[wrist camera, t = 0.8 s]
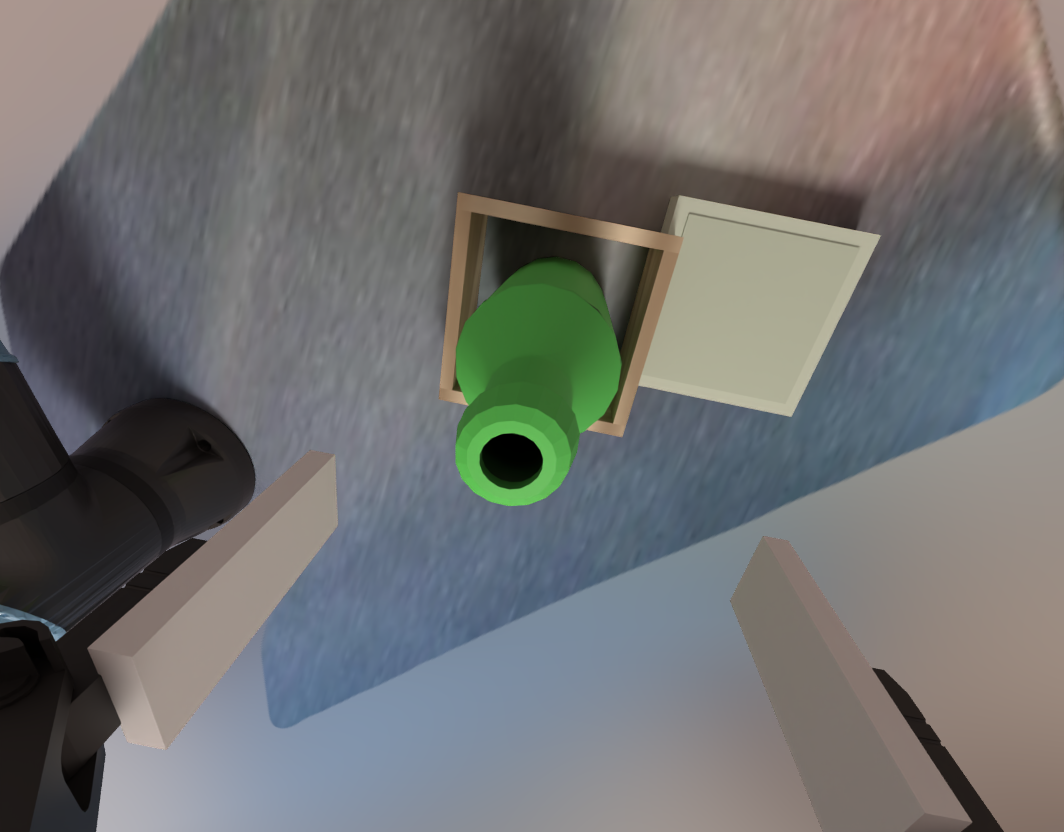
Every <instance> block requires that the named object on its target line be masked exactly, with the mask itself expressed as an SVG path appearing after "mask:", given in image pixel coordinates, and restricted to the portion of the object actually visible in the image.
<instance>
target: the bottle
mask: <svg viewBox="0 0 1064 832" xmlns="http://www.w3.org/2000/svg"><path fill="white" fill-rule="evenodd" d="M621 365H622V361H621V357H620V353H619V349H618V345H617V341H616V336H615V333H614V330H613V326H612V322H611V319H610V315H609V311H608V308H607V304H606V301H605V298H604V295H603V292H602V289H601V287H600V286H599V284H598V283H597V281H596V280H595V278H594V277H593V275H592V274H591V272H589V271H588V270H586V269H585V268H584V267H582V266H581V265H579V264H578V263H577V262H575V261H571V260H568V259H564V258H560V257H549V258H540V259H536V260H534V261H532V262H531V263H529V264H527V265H525V266H523V267H521V268H520V269H519V270H517V271H516V272H515V273H514V274H513V275H512V276H510V277H509V278H508V279H507V280H506V281H505V282H504V283H503V284H502V285H501V286H500V287H499V288H498V289H497V290H496V291H495V292H494V293H493V294H492V295H491V296H490V297H489V298H488V299H487V300H485V301H484V302H483V303H482V304H481V305H480V306H479V308H478V309H477V310H476V311H475V312H474V313H473V314H472V315H471V316H470V317H469V318H468V319H467V320H466V322H465V324H464V327H463V329H462V332H461V335H460V338H459V340H458V343H457V346H456V377H457V380H458V383H459V385H460V388H461V390H462V393H463V396H464V398H465V401H466V403H467V404H468V405H469V406H468V407H467V408H466V409H465V411H464V414H463V416H462V418H461V420H460V422H459V424H458V428H457V437H456V465H457V467H458V470H459V472H460V475H461V478H462V479H463V480H464V482H465V483H466V484H467V485H468V486H469V487H470V488H471V489H472V491H473V492H474V493H476V494H478V495H480V496H481V497H483V498H485V499H487V500H488V501H490V502H494V503H498V504H503V505H507V506H516V505H529V504H531V503H534V502H536V501H539V500H542V499H544V498H546V497H547V496H549V495H550V494H551V493H552V492H553V491H554V490H556V489H557V488H558V487H559V486H560V485H561V483H562V481H563V480H564V478H565V476H566V475H567V473H568V471H569V469H570V467H571V465H572V462H573V460H574V458H575V456H576V453H577V448H578V442H579V436H580V433H582V432H584V431H585V430H586V429H588V428H589V427H590V426H591V425H592V424H593V423H595V422H596V421H597V420H598V419H599V418H600V417H602V416H603V415H604V414H605V412H606V410H607V408H608V407H609V405H610V403H611V401H612V400H613V398H614V396H615V394H616V392H617V390H618V385H619V378H620V372H621Z"/></svg>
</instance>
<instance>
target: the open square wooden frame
mask: <svg viewBox="0 0 1064 832" xmlns="http://www.w3.org/2000/svg"><path fill="white" fill-rule="evenodd" d="M488 215H489V216H494V217H499V218H504V219H509V220H514V221H519V222H524V223H529V224H534V225H539V226H544V227H549V228H554V229H559V230H564V231H569V232H574V233H579V234H584V235H589V236H594V237H599V238H604V239H609V240H614V241H619V242H624V243H629V244H634V245H639V246H644V247H649V252H648V255H647V259H646V263H645V266H644V270H643V273H642V277H641V280H640V284H639V288H638V291H637V295H636V298H635V302H634V305H633V309H632V313H631V316H630V320H629V323H628V327H627V330H626V334H625V338H624V341H623V345H622V348H621V352H620V357H621V361H622V365H621V372H620V378H619V385H618V390H617V392H616V394H615V396H614V398H613V400H612V401H611V403H610V405H609V407H608V408H607V410H606V412H605V414H604V415H603V416H602V417H600V418H599V419H598V420H597V421H596V422H595V423H593V424H592V425H591V426H590V427H589V428H588V429H586V430H590V431H595V432H600V433H605V434H610V435H614V436H619V437H622V436H623V433H624V430H625V426H626V423H627V420H628V417H629V413H630V410H631V407H632V404H633V401H634V397H635V394H636V391H637V388H638V384H639V381H640V378H641V375H642V371H643V368H644V365H645V362H646V359H647V355H648V352H649V349H650V346H651V342H652V339H653V336H654V333H655V329H656V326H657V323H658V320H659V317H660V313H661V310H662V307H663V304H664V300H665V297H666V294H667V291H668V288H669V284H670V281H671V278H672V275H673V271H674V268H675V265H676V262H677V258H678V255H679V252H680V249H681V246H682V242H683V239H684V237H680V236H675V235H670V234H665V233H661V232H656V231H651V230H646V229H641V228H636V227H631V226H626V225H621V224H616V223H611V222H606V221H601V220H596V219H591V218H586V217H581V216H576V215H571V214H566V213H561V212H556V211H551V210H546V209H541V208H536V207H531V206H526V205H521V204H516V203H511V202H506V201H501V200H496V199H491V198H486V197H481V196H476V195H471V194H465V193H460V192H458V198H457V209H456V220H455V230H454V241H453V252H452V262H451V273H450V284H449V295H448V305H447V316H446V327H445V337H444V348H443V359H442V370H441V380H440V391H439V399H440V400H445V401H450V402H455V403H459V404H464V405H468V404H467V403H466V401H465V398H464V396H463V393H462V390H461V388H460V385H459V383H458V380H457V377H456V346H457V343H458V340H459V338H460V335H461V332H462V329H463V327H464V324H465V322H466V320H467V319H468V318H469V317H470V316H471V315H472V314H473V313H474V312H475V311H476V309H477V301H478V292H479V284H480V276H481V268H482V260H483V252H484V244H485V236H486V227H487V219H488Z"/></svg>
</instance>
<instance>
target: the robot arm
mask: <svg viewBox="0 0 1064 832" xmlns="http://www.w3.org/2000/svg"><path fill="white" fill-rule="evenodd" d="M18 362H19V361H18V359H17V358H16V357H15V356H14V355H11V354H10V353H9V352H8V351H7V349H6V348H5V346H4V345H3V343H2V342H1V340H0V832H96V827H97V818H98V811H99V803H100V795H101V787H102V779H103V771H104V763H105V755H106V754H105V748H104V742H105V741H106V740H107V739H108V738H109V737H110V736H111V735H112V733H113V732H114V731H115V730H116V729H117V728H118V727H119V726H120V725H121V728H122V730H123V733H124V735H125V737H126V739H127V742H129V743H134V744H139V745H144V746H149V747H154V748H159V749H164V750H167V749H168V747H169V746H170V744H171V743H172V742H173V741H174V739H175V738H176V737H177V735H178V734H179V733H180V731H181V730H182V729H183V728H184V726H185V725H186V724H187V722H188V721H189V720H190V718H191V717H192V716H193V715H194V713H195V712H196V711H197V709H198V708H199V707H200V705H201V704H202V703H203V701H204V700H205V699H206V697H207V696H208V695H209V694H210V692H211V691H212V689H213V688H214V687H215V686H216V684H217V683H218V682H219V680H220V679H221V678H222V677H223V675H224V674H225V672H226V671H227V670H228V669H229V667H230V666H231V665H232V663H233V662H234V661H235V660H236V658H237V657H238V656H239V654H240V653H241V652H242V650H243V649H244V648H245V646H246V645H247V644H248V642H249V641H250V640H251V639H252V637H253V636H254V635H255V633H256V632H257V631H258V629H259V628H260V627H261V626H262V624H263V623H264V622H265V620H266V619H267V618H268V616H269V615H270V614H271V612H272V611H273V610H274V608H275V607H276V606H277V605H278V603H279V602H280V601H281V599H282V598H283V597H284V595H285V594H286V593H287V591H288V590H289V589H290V588H291V586H292V585H293V584H294V582H295V581H296V580H297V578H298V577H299V576H300V574H301V573H302V572H303V571H304V569H305V568H306V567H307V565H308V564H309V563H310V561H311V560H312V559H313V557H314V556H315V555H316V554H317V552H318V551H319V550H320V548H321V547H322V546H323V544H324V543H325V542H326V540H327V539H328V538H329V537H330V535H331V534H332V533H333V531H334V530H335V529H336V527H337V526H338V517H337V493H336V469H335V455H334V454H328V453H323V452H318V451H312V450H310V451H309V452H308V453H306V454H305V455H304V456H303V457H302V458H301V459H300V460H299V461H297V462H296V463H295V464H294V465H293V466H292V467H291V468H290V469H288V470H287V471H286V472H285V473H284V474H283V475H282V476H281V477H279V478H278V479H277V480H276V481H275V482H274V483H273V484H271V485H270V486H269V487H268V488H267V489H266V490H265V491H264V492H262V493H261V494H260V495H259V496H258V497H257V498H256V499H255V500H253V501H252V502H251V503H250V504H249V505H248V506H247V507H246V508H244V507H245V506H246V505H247V504H248V503H249V501H250V500H251V498H252V496H253V493H254V488H255V475H254V470H253V466H252V463H251V461H250V458H249V456H248V454H247V452H246V451H245V449H244V447H243V446H242V444H241V443H240V442H239V440H238V439H237V438H236V437H235V435H234V434H233V433H232V432H231V431H230V430H229V429H228V428H227V427H226V426H225V425H223V424H222V423H221V422H220V421H219V420H217V419H216V418H214V417H213V416H212V415H210V414H208V413H207V412H205V411H203V410H201V409H199V408H197V407H195V406H193V405H190V404H188V403H185V402H181V401H177V400H172V399H164V398H157V399H149V400H145V401H142V402H139V403H137V404H135V405H132V406H130V407H128V408H125V409H123V410H121V411H119V412H117V413H116V414H114V415H113V416H112V417H111V418H110V419H109V420H108V421H107V422H106V423H105V424H104V425H103V426H102V428H101V429H100V430H99V431H98V432H96V433H95V434H94V435H93V436H92V437H90V438H89V439H88V440H87V441H86V442H85V443H84V444H83V445H81V446H80V447H79V448H78V449H77V450H76V451H75V452H74V453H72V454H71V455H68V453H67V452H66V450H65V448H64V447H63V445H62V443H61V441H60V440H59V438H58V436H57V435H56V433H55V431H54V430H53V428H52V426H51V424H50V423H49V421H48V419H47V417H46V415H45V414H44V412H43V410H42V408H41V406H40V405H39V403H38V401H37V399H36V398H35V396H34V394H33V392H32V390H31V389H30V387H29V385H28V383H27V381H26V380H25V378H24V376H23V374H22V373H21V371H20V369H19V367H18V365H17V364H16V363H18ZM243 508H244V509H243ZM242 509H243V510H242ZM241 510H242V511H241ZM240 511H241V512H240ZM239 512H240V513H239ZM237 513H239V514H238V515H237V516H236V517H234V516H235V515H236V514H237ZM233 517H234V518H233ZM231 518H233V519H232V520H231V521H230V522H229V523H228V524H226V525H225V526H224V527H223V528H222V529H221V530H220V531H219V532H217V533H216V534H215V535H214V536H213V537H212V538H211V539H210V540H208V541H205V540H200V539H195V538H192V537H194V536H197V535H199V534H201V533H203V532H205V531H206V530H209V529H212V528H215V527H218V526H220V525H222V524H224V523H226V522H227V521H229V520H230V519H231ZM190 538H191V539H190ZM188 539H189V540H188ZM185 540H187V541H185ZM183 541H185V542H183ZM180 542H183V543H181V544H179V545H177V546H175V547H173V548H171V549H169V548H170V547H171V546H174V545H176V544H178V543H180ZM167 549H169V550H167ZM166 550H167V551H166ZM162 553H163V554H162ZM161 554H162V555H161ZM156 558H157V559H156ZM155 559H156V560H155ZM150 563H151V564H150ZM144 568H145V569H144ZM143 569H144V571H143V572H142V573H139V572H141V571H142V570H143ZM138 573H139V574H138ZM133 577H134V578H133ZM127 582H128V583H127ZM125 584H126V586H125V587H124V588H121V587H122V586H124V585H125ZM116 591H117V592H116ZM111 595H112V596H111ZM110 596H111V597H110ZM105 600H106V601H105ZM730 602H731V604H732V607H733V609H734V612H735V614H736V617H737V619H738V622H739V624H740V627H741V629H742V632H743V634H744V637H745V639H746V641H747V644H748V647H749V649H750V652H751V654H752V657H753V659H754V662H755V664H756V667H757V669H758V672H759V674H760V677H761V679H762V682H763V684H764V687H765V689H766V692H767V694H768V697H769V699H770V702H771V704H772V706H773V709H774V712H775V714H776V717H777V719H778V721H779V724H780V727H781V729H782V731H783V734H784V737H785V739H786V741H787V744H788V746H789V749H790V751H791V754H792V756H793V759H794V761H795V764H796V766H797V769H798V771H799V774H800V776H801V779H802V781H803V784H804V786H805V789H806V791H807V794H808V796H809V799H810V801H811V804H812V806H813V809H814V811H815V814H816V816H817V819H818V821H819V824H820V826H821V829H822V831H823V832H1004V831H1003V830H1002V829H1001V827H1000V825H999V824H998V823H997V821H996V820H995V818H994V817H993V815H992V814H991V813H990V811H989V810H988V809H987V807H986V805H985V804H984V802H983V801H982V800H981V798H980V797H979V795H978V794H977V792H976V791H975V790H974V788H973V787H972V785H971V784H970V782H969V781H968V779H967V778H966V777H965V775H964V774H963V772H962V771H961V770H960V768H959V766H958V765H957V764H956V762H955V761H954V759H953V758H952V756H951V755H950V754H949V752H948V751H947V749H946V748H945V747H943V746H942V745H941V743H940V742H941V741H940V739H939V738H938V736H937V735H936V733H935V732H934V731H933V729H932V728H931V726H930V725H928V724H926V722H925V718H924V716H923V715H922V713H921V712H920V710H919V709H918V707H917V706H916V705H915V703H914V702H913V700H912V699H911V697H910V696H909V695H908V693H907V692H906V691H905V690H904V689H902V687H901V686H900V685H898V684H897V682H896V681H894V679H893V678H891V677H890V676H889V675H888V674H887V673H886V672H885V671H884V670H881V669H876V668H871V666H870V665H869V663H868V662H867V660H866V659H865V657H864V656H863V654H862V653H861V651H860V650H859V648H858V647H857V645H856V643H855V642H854V641H853V639H852V637H851V636H850V634H849V633H848V631H847V630H846V628H845V627H844V625H843V624H842V622H841V621H840V619H839V617H838V616H837V614H836V613H835V611H834V610H833V608H832V607H831V605H830V604H829V602H828V601H827V599H826V598H825V596H824V595H823V593H822V591H821V590H820V589H819V587H818V585H817V584H816V582H815V581H814V579H813V578H812V577H811V575H810V573H809V572H808V570H807V569H806V567H805V566H804V564H803V562H802V561H801V560H800V558H799V556H798V555H797V553H796V552H795V550H794V549H793V547H792V546H791V544H790V543H789V541H787V540H782V539H776V538H771V537H766V536H763V537H762V539H761V541H760V543H759V545H758V547H757V549H756V551H755V553H754V554H753V557H752V558H751V560H750V562H749V564H748V566H747V568H746V570H745V572H744V574H743V576H742V578H741V580H740V582H739V584H738V586H737V588H736V590H735V592H734V594H733V596H732V598H731V600H730ZM99 605H100V606H99ZM94 609H95V610H94ZM88 614H89V615H88ZM82 619H83V620H82ZM77 623H78V624H77ZM71 628H72V629H71Z"/></svg>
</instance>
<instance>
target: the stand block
mask: <svg viewBox="0 0 1064 832" xmlns="http://www.w3.org/2000/svg"><path fill="white" fill-rule="evenodd" d="M661 233H665V234H670V235H675V236H680V237H684V239H683V242H682V246H681V249H680V252H679V255H678V258H677V262H676V265H675V268H674V271H673V275H672V278H671V281H670V284H669V288H668V291H667V294H666V297H665V300H664V304H663V307H662V310H661V313H660V317H659V320H658V323H657V326H656V329H655V333H654V336H653V339H652V342H651V346H650V349H649V352H648V355H647V359H646V362H645V365H644V368H643V371H642V375H641V378H640V381H639V384H638V385H639V386H644V387H649V388H654V389H659V390H664V391H668V392H673V393H678V394H683V395H688V396H693V397H698V398H703V399H707V400H712V401H717V402H722V403H727V404H732V405H737V406H742V407H746V408H751V409H756V410H761V411H766V412H771V413H776V414H781V415H785V416H790V417H791V416H792V414H793V412H794V410H795V408H796V406H797V404H798V402H799V400H800V398H801V396H802V394H803V392H804V390H805V388H806V386H807V384H808V382H809V380H810V378H811V376H812V374H813V372H814V370H815V368H816V366H817V364H818V362H819V360H820V358H821V356H822V354H823V352H824V350H825V348H826V346H827V344H828V341H829V339H830V337H831V335H832V333H833V331H834V329H835V327H836V325H837V323H838V321H839V319H840V317H841V315H842V313H843V311H844V309H845V307H846V305H847V303H848V301H849V299H850V297H851V295H852V293H853V291H854V289H855V287H856V285H857V283H858V281H859V279H860V277H861V275H862V273H863V271H864V269H865V267H866V265H867V263H868V261H869V259H870V256H871V254H872V252H873V250H874V248H875V246H876V244H877V242H878V240H879V238H880V236H881V235H876V234H871V233H866V232H861V231H856V230H851V229H846V228H841V227H836V226H831V225H826V224H821V223H816V222H811V221H806V220H801V219H796V218H791V217H786V216H781V215H776V214H771V213H766V212H761V211H756V210H751V209H746V208H741V207H736V206H731V205H726V204H721V203H716V202H711V201H706V200H701V199H696V198H690V197H685V196H680V195H678V196H673V197H671V198H670V202H669V205H668V209H667V212H666V215H665V219H664V222H663V226H662V229H661Z"/></svg>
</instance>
